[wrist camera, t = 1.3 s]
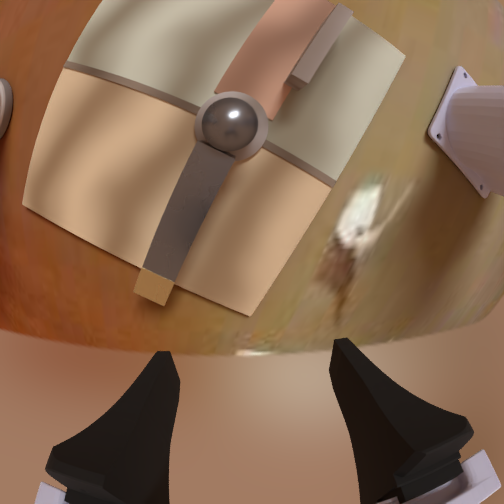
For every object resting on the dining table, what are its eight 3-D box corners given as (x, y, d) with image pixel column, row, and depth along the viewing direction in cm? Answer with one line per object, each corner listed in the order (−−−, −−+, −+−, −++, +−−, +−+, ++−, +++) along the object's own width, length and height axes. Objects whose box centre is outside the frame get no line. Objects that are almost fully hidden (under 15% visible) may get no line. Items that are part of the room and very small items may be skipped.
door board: (401, 57, 14) (427, 49, 11) (250, 312, 22) (252, 340, 19) (150, -51, 9) (138, -72, 6) (26, 202, 17) (1, 214, 14)
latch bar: (221, 95, 14) (218, 88, 12) (263, 116, 15) (268, 113, 13) (139, 273, 19) (127, 293, 16) (174, 290, 19) (166, 311, 17)
